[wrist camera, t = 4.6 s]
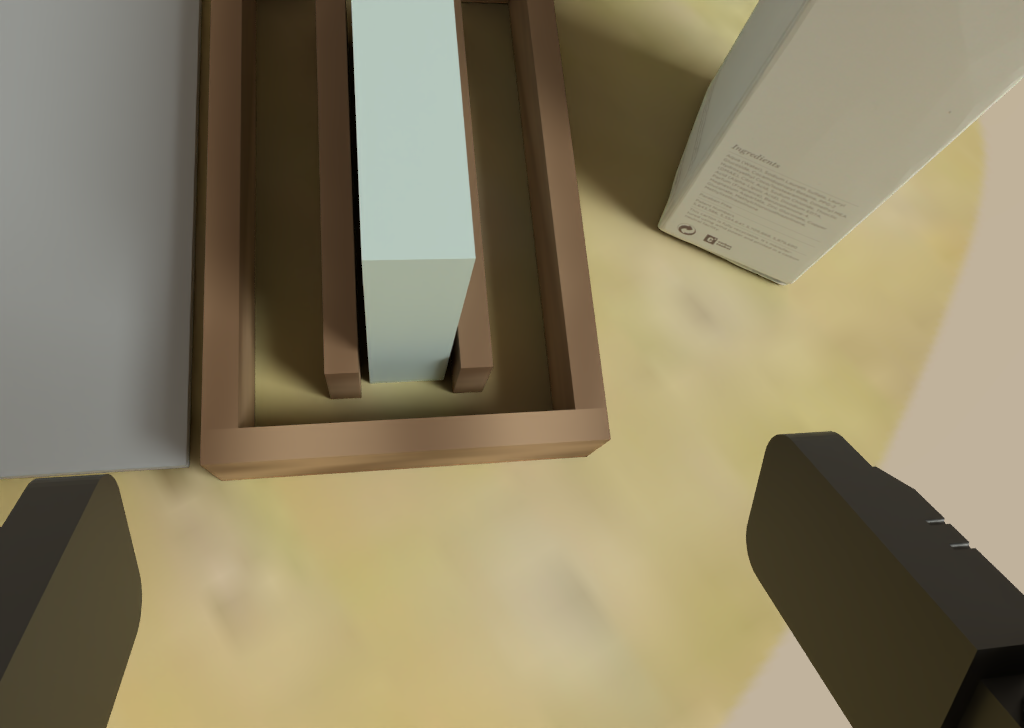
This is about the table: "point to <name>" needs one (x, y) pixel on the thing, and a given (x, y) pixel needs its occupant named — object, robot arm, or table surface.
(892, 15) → the skincare box
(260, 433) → the walnut box
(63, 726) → the robot arm
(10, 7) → the grey mat
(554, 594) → the table surface
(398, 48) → the cover plate
